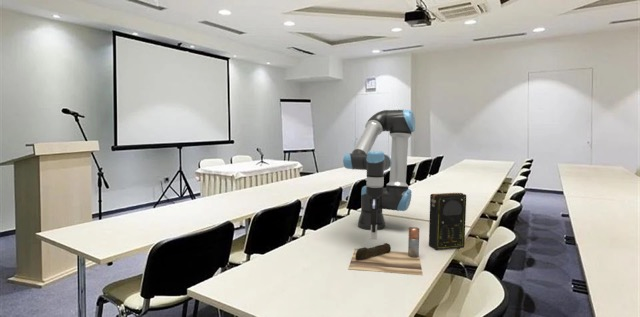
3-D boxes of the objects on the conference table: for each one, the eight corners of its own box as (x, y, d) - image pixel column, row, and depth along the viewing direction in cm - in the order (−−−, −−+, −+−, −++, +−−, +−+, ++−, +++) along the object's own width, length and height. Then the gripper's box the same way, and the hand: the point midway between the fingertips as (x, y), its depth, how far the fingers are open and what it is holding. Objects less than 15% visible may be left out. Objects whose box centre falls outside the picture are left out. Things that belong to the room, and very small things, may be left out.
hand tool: (384, 250, 164) (384, 240, 163) (391, 253, 160) (391, 242, 160) (351, 259, 153) (351, 248, 153) (357, 262, 150) (357, 250, 150)
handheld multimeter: (436, 251, 163) (438, 196, 161) (426, 245, 172) (427, 192, 169) (466, 248, 167) (468, 194, 165) (455, 242, 176) (456, 191, 174)
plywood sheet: (354, 249, 166) (354, 248, 166) (418, 253, 160) (418, 253, 160) (348, 269, 142) (348, 268, 142) (422, 275, 137) (422, 274, 137)
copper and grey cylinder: (407, 253, 160) (408, 226, 158) (418, 254, 159) (419, 227, 158) (408, 257, 155) (408, 229, 154) (418, 258, 154) (419, 230, 153)
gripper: (367, 183, 169) (366, 234, 170) (365, 188, 156) (364, 242, 158) (383, 184, 167) (382, 235, 169) (383, 188, 155) (381, 243, 156)
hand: (373, 238), depth 163 cm, fingers closed
